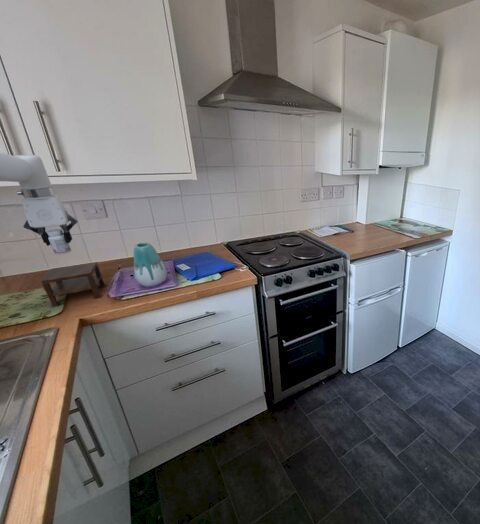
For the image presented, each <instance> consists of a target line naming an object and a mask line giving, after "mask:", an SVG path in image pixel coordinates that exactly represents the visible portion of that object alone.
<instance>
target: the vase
mask: <svg viewBox="0 0 480 524" xmlns="http://www.w3.org/2000/svg"><path fill="white" fill-rule="evenodd" d="M133 276H134V279H135V281H136V282H137V283H138V284H139V285H140V286H142V287H146V288H152V287H156V286H160V285H162V284H163V283H164V282H165V281H166V279H167V278H168V269H167V266H166V265H165V263H164V261H163V260H162V258H161V257H160V255H159V253H158V252H157V250H156V248H155V247H154V246H153V244H151V243H149V242H138V243H136V244H135V246H134V248H133Z"/></svg>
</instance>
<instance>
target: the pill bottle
mask: <svg viewBox="0 0 480 524" xmlns="http://www.w3.org/2000/svg"><path fill="white" fill-rule="evenodd" d="M46 233H47V234H48V236H49V237H48V240H49V242H50V247H51V249H52V251H53V253H54V255H64V254H69V253H70V252H72V249H71V246H70V243H66V240H65V238H64V235H63V233H64V232H63V230H62V228H55V229H50V230H47V231H46Z"/></svg>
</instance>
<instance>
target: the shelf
mask: <svg viewBox="0 0 480 524" xmlns="http://www.w3.org/2000/svg"><path fill="white" fill-rule="evenodd" d="M93 274H94V275H93ZM40 282H41V284H42V287H43V288H44V291H45V293H46V295H47V298H48V299H49V302H50V304H51V306H52V307H58V306H59V302H58V300H57V296H63V295H67V294H72V293H73V294H74V293H78V292H84V291H89V290H91V291H92V294H93V296H94V299H99V298H101V294H100V291H99V288H98V286H99V287H100V288H102V287H103V288H104V287H105V286H106V283H105V281H104V278H103V275H102V272H101V270H100V267H99V264H98V262H97V261H94V262H86V263H81V264H80V263H79V264H74V265H68V266H61V267H55V268H51V269H50V270H49V271H48V273H46V275H45V276H44V277H43V278H42V279H41V280H40ZM50 283H55V284H54V285H53V286H52V285H51V284H50Z"/></svg>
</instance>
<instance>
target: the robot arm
mask: <svg viewBox="0 0 480 524" xmlns="http://www.w3.org/2000/svg"><path fill="white" fill-rule="evenodd" d="M0 182H13V183H18V185H19V187H20V190H17V191H16V194H17V195H18V196H23V198H21V203H22V207H23V211H24V214H25V218H26V220H25V222H24V224H23V226H22V228H24V229H27V230H29V231H31V232H34V233H36V234H38V235H39V236H40V238H41V239H42V241H43V243H44V244H45V245H46V246H47V247H49V246H51V244H50V242H49V240H48V237H49V236H48V234H47V231H46V228H49V227H58V226H59V227H60V229H61V230H62V232H63V235H64V238H65V240H66V243H69V244H71V242H72V240H73V236H72V235H71V229H72V228H73V227H74V226H75V225H76V224H77V223H79V220H78V219H77V218H75V217H73V216H72V215H70V214H69V213H68V210H67V209H66V207H65V205H64V203H63V201H62V199H61V198H60V196H59V195H56V192H55V191H54V188H53V185H52V183H51V181H50V178H49V175H48V173H47V170H46V167H45V164H44V162H43V160H42V158H41V157H40V156H39V155H36V154H15V155H13V154H9V153H5V152H2V151H0ZM69 222H70V223H69ZM68 223H69V224H68Z"/></svg>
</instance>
